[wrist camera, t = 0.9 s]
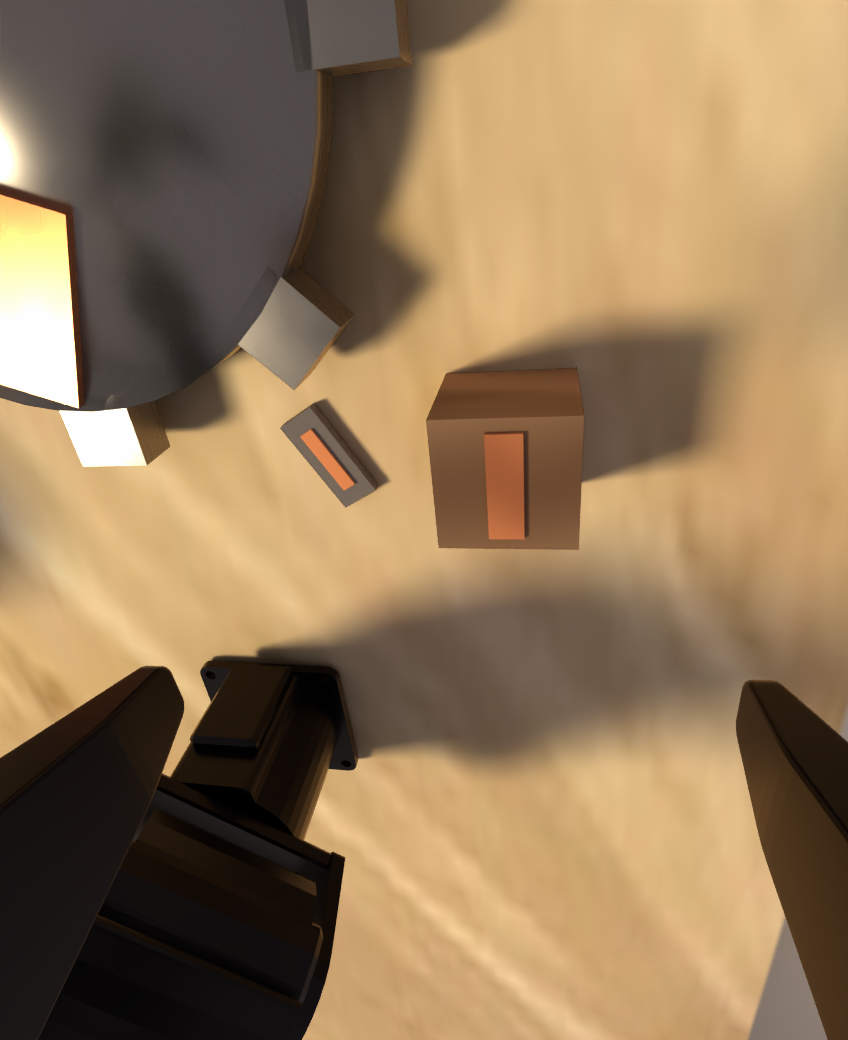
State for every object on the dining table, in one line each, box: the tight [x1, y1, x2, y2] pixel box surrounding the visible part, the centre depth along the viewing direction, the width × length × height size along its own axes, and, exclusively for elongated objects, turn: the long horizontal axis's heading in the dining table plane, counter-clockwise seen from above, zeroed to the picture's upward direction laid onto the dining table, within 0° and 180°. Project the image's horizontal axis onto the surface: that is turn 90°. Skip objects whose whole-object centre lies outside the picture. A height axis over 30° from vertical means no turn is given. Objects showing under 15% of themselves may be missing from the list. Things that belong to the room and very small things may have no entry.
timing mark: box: [280, 403, 378, 507], centre depth 21 cm, size 4×1×1 cm, turn 36°
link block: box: [426, 368, 584, 550], centre depth 18 cm, size 4×4×4 cm
